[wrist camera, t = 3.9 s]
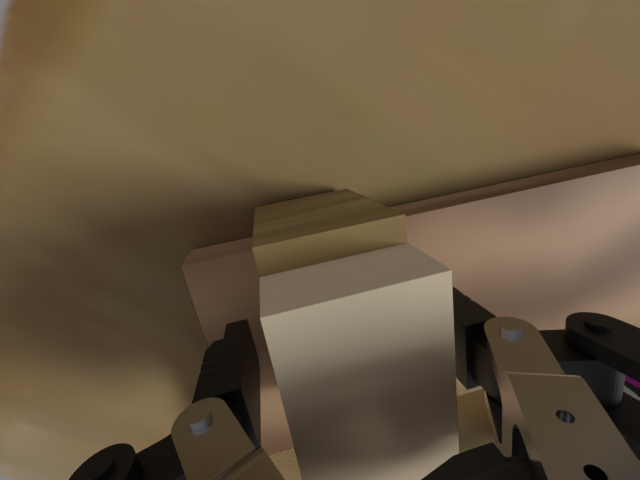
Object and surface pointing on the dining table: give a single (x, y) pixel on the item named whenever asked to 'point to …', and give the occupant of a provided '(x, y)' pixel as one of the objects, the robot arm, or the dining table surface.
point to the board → (474, 260)
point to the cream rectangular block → (357, 338)
